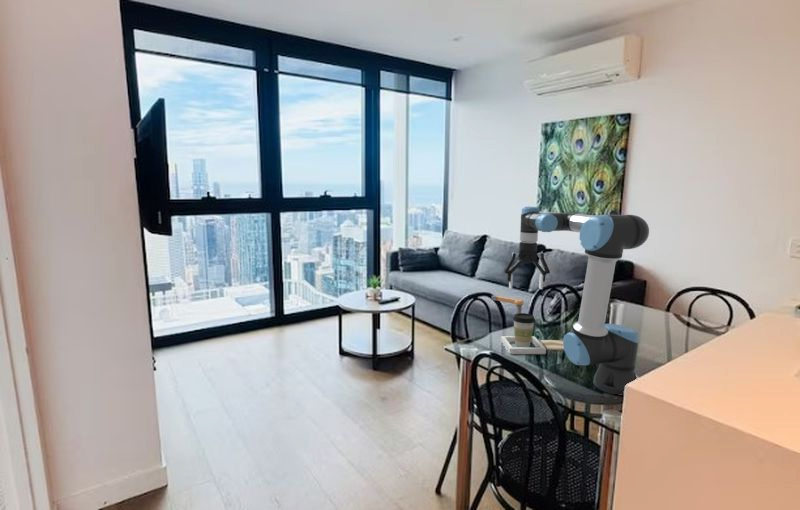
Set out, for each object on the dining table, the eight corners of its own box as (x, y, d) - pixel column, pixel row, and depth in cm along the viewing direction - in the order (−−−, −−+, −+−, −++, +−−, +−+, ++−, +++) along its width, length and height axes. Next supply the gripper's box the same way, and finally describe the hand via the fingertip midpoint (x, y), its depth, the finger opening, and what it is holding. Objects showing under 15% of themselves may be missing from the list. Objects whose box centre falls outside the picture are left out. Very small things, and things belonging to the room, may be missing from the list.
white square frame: (545, 354, 199) (548, 315, 196) (509, 354, 198) (511, 315, 195) (532, 339, 217) (534, 304, 214) (499, 339, 216) (501, 304, 214)
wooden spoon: (490, 300, 219) (491, 296, 218) (494, 298, 222) (494, 294, 221) (521, 305, 209) (521, 302, 209) (524, 304, 212) (525, 300, 212)
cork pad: (575, 350, 203) (575, 349, 203) (549, 350, 203) (549, 349, 203) (565, 341, 215) (565, 340, 215) (540, 341, 214) (540, 340, 214)
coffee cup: (518, 352, 200) (520, 319, 198) (507, 344, 210) (509, 313, 207) (537, 350, 203) (539, 318, 200) (526, 342, 212) (528, 312, 210)
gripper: (553, 240, 202) (550, 286, 206) (498, 240, 202) (496, 286, 205) (559, 243, 195) (556, 290, 199) (502, 242, 194) (500, 290, 198)
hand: (525, 288), depth 202 cm, fingers open, 13 cm apart
